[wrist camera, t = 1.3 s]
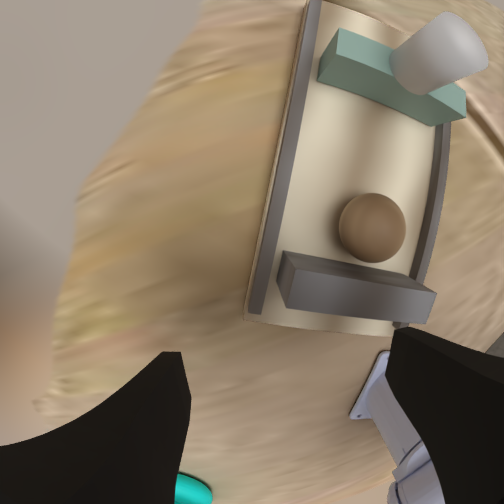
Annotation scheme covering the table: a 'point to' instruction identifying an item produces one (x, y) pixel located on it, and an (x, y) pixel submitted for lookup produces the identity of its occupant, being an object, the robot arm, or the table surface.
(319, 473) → the table surface
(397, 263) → the base
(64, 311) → the table surface
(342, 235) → the walnut
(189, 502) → the donuts
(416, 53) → the sliding jaw
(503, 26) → the table surface
